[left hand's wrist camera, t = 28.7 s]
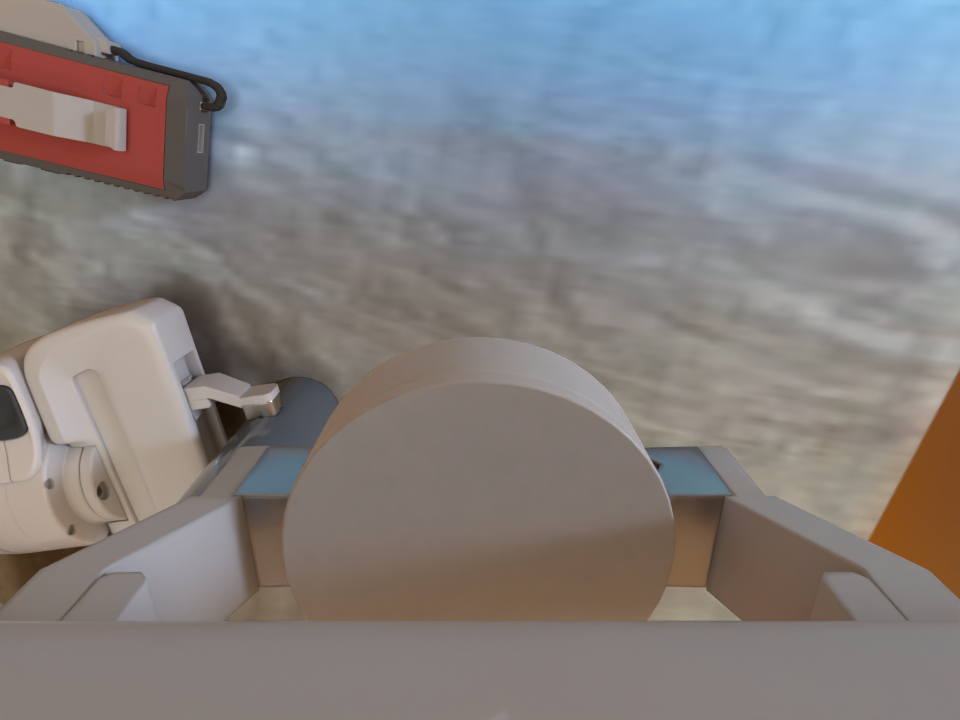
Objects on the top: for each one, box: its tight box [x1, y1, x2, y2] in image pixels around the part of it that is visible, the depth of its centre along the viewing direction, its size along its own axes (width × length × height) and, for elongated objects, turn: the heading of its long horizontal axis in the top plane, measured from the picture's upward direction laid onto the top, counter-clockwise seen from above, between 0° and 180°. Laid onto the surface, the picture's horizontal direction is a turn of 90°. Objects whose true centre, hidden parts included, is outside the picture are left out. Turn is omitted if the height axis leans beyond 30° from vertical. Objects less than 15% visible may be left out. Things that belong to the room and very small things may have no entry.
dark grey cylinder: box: [175, 377, 338, 504], centre depth 31 cm, size 5×5×16 cm
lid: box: [282, 337, 675, 621], centre depth 9 cm, size 6×6×2 cm
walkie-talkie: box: [0, 0, 227, 201], centre depth 29 cm, size 9×4×20 cm
